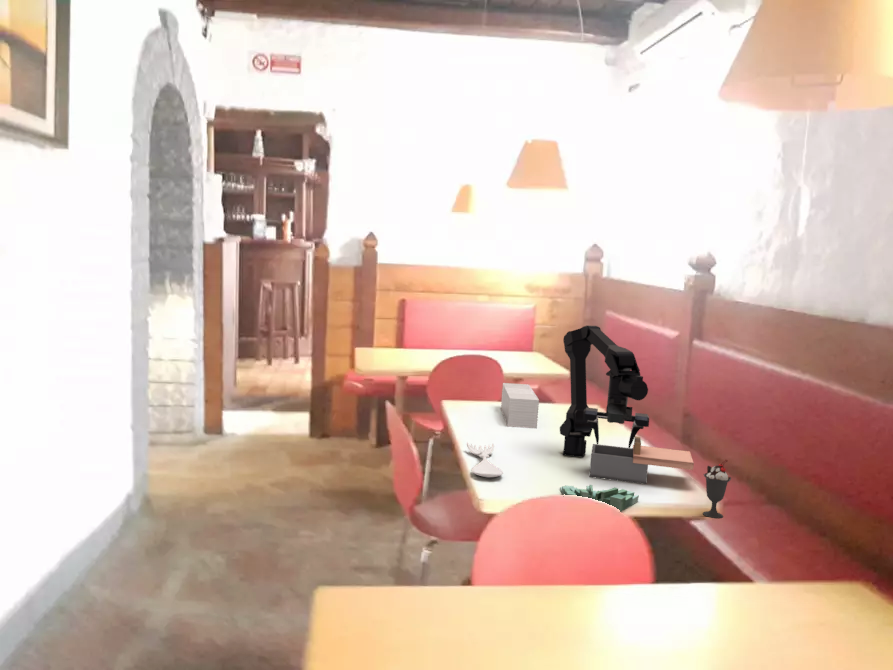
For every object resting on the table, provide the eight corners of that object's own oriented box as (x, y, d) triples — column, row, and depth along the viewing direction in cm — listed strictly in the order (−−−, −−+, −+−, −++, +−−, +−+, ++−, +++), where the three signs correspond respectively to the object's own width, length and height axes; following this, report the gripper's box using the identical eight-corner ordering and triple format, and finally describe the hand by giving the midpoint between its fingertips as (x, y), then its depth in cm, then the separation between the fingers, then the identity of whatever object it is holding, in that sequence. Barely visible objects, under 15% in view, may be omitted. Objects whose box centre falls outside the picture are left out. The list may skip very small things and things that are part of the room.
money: (568, 511, 196) (570, 492, 195) (559, 491, 212) (560, 473, 212) (647, 515, 196) (649, 497, 196) (632, 495, 212) (634, 478, 212)
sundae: (729, 521, 195) (735, 462, 193) (701, 517, 196) (707, 459, 194) (725, 512, 201) (731, 456, 199) (698, 509, 202) (703, 453, 201)
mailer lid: (632, 462, 222) (634, 445, 221) (632, 451, 235) (633, 434, 234) (693, 470, 218) (694, 451, 217) (689, 457, 232) (690, 440, 231)
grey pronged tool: (493, 452, 247) (494, 442, 246) (504, 483, 215) (505, 471, 214) (465, 451, 246) (465, 440, 246) (472, 481, 214) (473, 469, 214)
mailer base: (589, 476, 226) (591, 453, 225) (590, 466, 237) (592, 443, 236) (646, 484, 222) (648, 460, 221) (645, 472, 234) (647, 450, 233)
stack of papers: (500, 409, 316) (502, 382, 314) (527, 410, 316) (529, 384, 314) (507, 427, 284) (509, 398, 283) (536, 429, 284) (539, 400, 283)
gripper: (584, 394, 222) (579, 448, 223) (651, 401, 218) (646, 456, 219) (586, 388, 232) (581, 439, 234) (650, 395, 228) (645, 447, 230)
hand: (613, 445), depth 229 cm, fingers open, 9 cm apart
